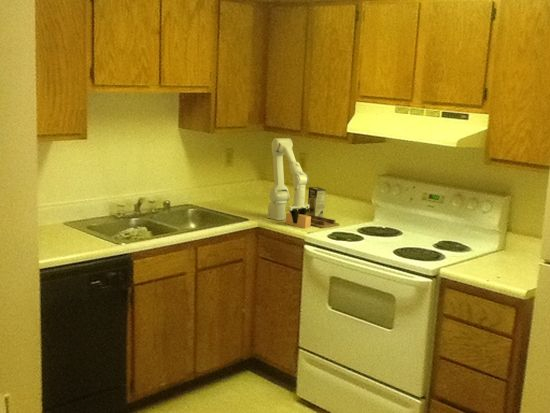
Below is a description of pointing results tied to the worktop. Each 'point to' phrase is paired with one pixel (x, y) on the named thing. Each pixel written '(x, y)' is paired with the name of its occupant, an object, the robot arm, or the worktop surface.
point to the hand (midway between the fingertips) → (297, 222)
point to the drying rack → (322, 222)
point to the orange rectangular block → (299, 220)
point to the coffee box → (316, 201)
